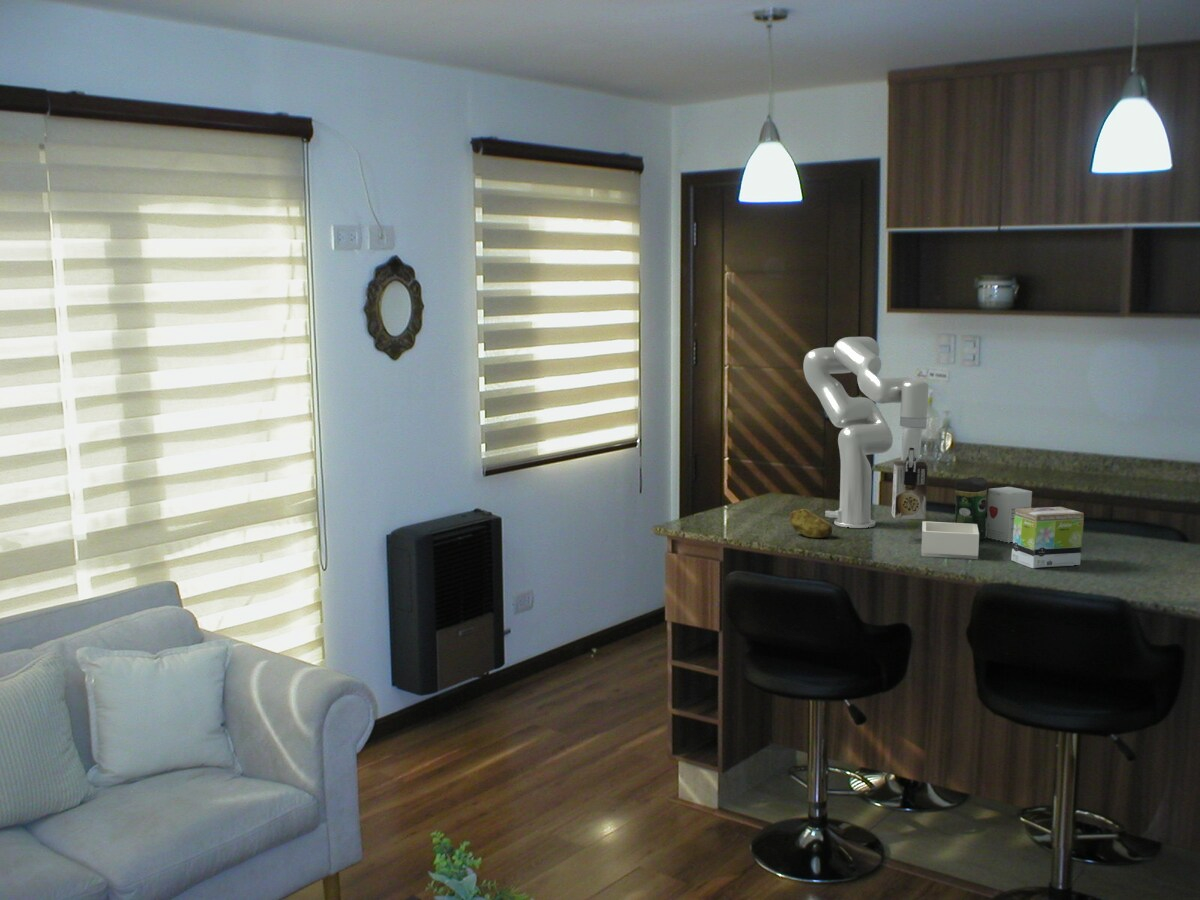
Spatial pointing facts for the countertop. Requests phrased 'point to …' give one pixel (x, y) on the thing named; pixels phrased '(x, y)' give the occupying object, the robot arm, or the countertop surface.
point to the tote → (950, 540)
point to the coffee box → (909, 492)
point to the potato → (809, 524)
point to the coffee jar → (971, 503)
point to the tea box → (1047, 537)
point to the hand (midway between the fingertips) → (909, 482)
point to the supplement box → (1005, 511)
